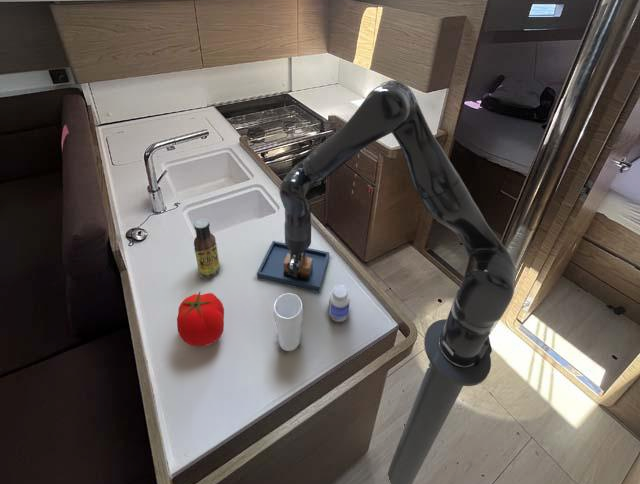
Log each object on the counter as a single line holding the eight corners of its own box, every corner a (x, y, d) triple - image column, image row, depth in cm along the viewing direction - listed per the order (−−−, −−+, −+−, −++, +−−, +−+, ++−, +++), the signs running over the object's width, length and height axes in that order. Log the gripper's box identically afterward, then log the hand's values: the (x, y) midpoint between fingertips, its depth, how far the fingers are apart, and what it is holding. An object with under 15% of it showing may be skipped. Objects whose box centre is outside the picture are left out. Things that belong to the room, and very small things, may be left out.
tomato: (207, 366, 77) (198, 335, 70) (170, 342, 82) (158, 310, 75) (239, 324, 86) (233, 293, 79) (204, 305, 91) (196, 274, 84)
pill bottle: (351, 318, 88) (354, 296, 83) (333, 325, 87) (335, 302, 82) (343, 301, 93) (345, 279, 88) (325, 307, 91) (327, 285, 86)
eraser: (312, 268, 101) (313, 257, 99) (308, 281, 97) (308, 270, 94) (288, 262, 103) (288, 251, 100) (283, 275, 98) (282, 264, 96)
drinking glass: (273, 333, 84) (270, 297, 77) (298, 325, 86) (297, 289, 79) (279, 359, 79) (277, 323, 71) (306, 349, 81) (306, 313, 73)
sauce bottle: (202, 282, 97) (190, 234, 87) (197, 268, 101) (185, 220, 91) (223, 273, 100) (214, 226, 90) (217, 260, 104) (208, 213, 94)
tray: (329, 257, 106) (329, 252, 105) (319, 292, 95) (319, 287, 94) (273, 245, 110) (272, 240, 109) (257, 278, 99) (256, 272, 98)
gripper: (303, 252, 84) (303, 293, 93) (317, 216, 96) (315, 255, 105) (276, 246, 86) (279, 287, 94) (293, 211, 97) (293, 251, 106)
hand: (298, 270), depth 100 cm, fingers closed on eraser, 5 cm apart
